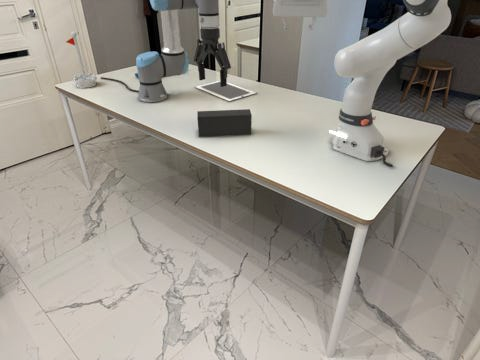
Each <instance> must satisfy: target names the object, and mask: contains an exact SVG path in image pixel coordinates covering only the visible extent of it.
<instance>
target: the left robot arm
mask: <svg viewBox="0 0 480 360" xmlns="http://www.w3.org/2000/svg"><path fill="white" fill-rule="evenodd" d="M149 2H150V6H151V8H152V10H154V11H160V18H161V27H162V39H163V47H162V48H161V53H159V52H158V51H146V52H143V53H139V54H138V55H137V56H136V58H135V64H136V66H135V67H136V69H137V73H138V76H139V78H138V81H139V89H138V90H137V89H132V88H129V87H128V85H127V84H126V83H125V82H123V81H122V80H119V79H116V78H111V77H110V78H109V77H103V76H101V77H100V79H103V80H108V81H113V82H118V83H121V84H122V85H124V86H125V88H126V89H127V90H128V91H131V92H136V93H138V101H140V102H142V103H149V104H151V103H159V102H162V101H165V100H166V99H167V98H168V94H167V90H166V88H165V86H164V84H163V80H162V79H163V78H167V77H168V78H169V77H175V76H182V75H185V74H187V72H188V70H189V63H190V62H189V56H188V53H187V52H186V51H185V49H184V47H182V45H181V30H180V17H179V10H192V9H198V16H199V17H198V18H199V27H200V29H199V33H200V34H199V35H200V38H199V39H197V40H196V47H195V53H194V57H193V62H194V63H196V64H197V71H198V80H199V81H204V80H206V68H205V62H204V61H205V60H206V57H207V55H208V54H210V55H212V56H214V58H215V60H216V61H217V64H218V66H219V68H220V70H219V81H220V84H221V87H224V86H227V82H228V70H229V69H232V65H231V63H230V59H229V57H228V53H227V51H226V44H225V42H220V41H219V39H220V38H221V30H220V29H221V28H219V27H220V26H221V25H220V5H219V0H149Z"/></svg>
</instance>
